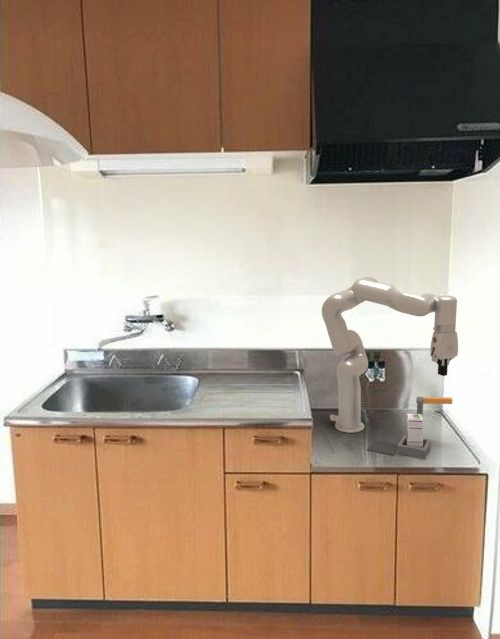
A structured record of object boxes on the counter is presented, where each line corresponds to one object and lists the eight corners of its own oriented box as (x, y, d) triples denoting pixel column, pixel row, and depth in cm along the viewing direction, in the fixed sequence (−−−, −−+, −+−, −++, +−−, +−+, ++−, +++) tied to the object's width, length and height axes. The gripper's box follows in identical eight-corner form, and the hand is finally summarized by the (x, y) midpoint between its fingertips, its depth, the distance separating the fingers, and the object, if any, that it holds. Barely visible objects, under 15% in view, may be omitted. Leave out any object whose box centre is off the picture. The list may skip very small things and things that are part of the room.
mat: (367, 450, 196) (367, 449, 196) (374, 440, 205) (374, 439, 205) (392, 455, 191) (392, 454, 191) (398, 445, 200) (398, 444, 200)
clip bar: (452, 404, 196) (452, 399, 195) (417, 404, 197) (417, 399, 197) (450, 401, 199) (450, 397, 198) (415, 401, 200) (415, 396, 200)
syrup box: (423, 454, 191) (424, 419, 188) (407, 453, 192) (408, 418, 189) (421, 448, 196) (422, 413, 194) (405, 447, 198) (406, 412, 195)
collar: (397, 453, 192) (397, 445, 192) (403, 443, 201) (404, 435, 201) (425, 459, 187) (425, 450, 187) (430, 448, 196) (430, 439, 195)
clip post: (410, 442, 201) (411, 404, 198) (412, 438, 206) (413, 400, 202) (425, 445, 198) (426, 406, 195) (427, 440, 203) (429, 402, 199)
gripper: (437, 332, 182) (435, 380, 185) (467, 328, 188) (464, 374, 191) (422, 328, 188) (420, 375, 192) (451, 324, 194) (449, 369, 198)
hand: (442, 374), depth 192 cm, fingers closed
